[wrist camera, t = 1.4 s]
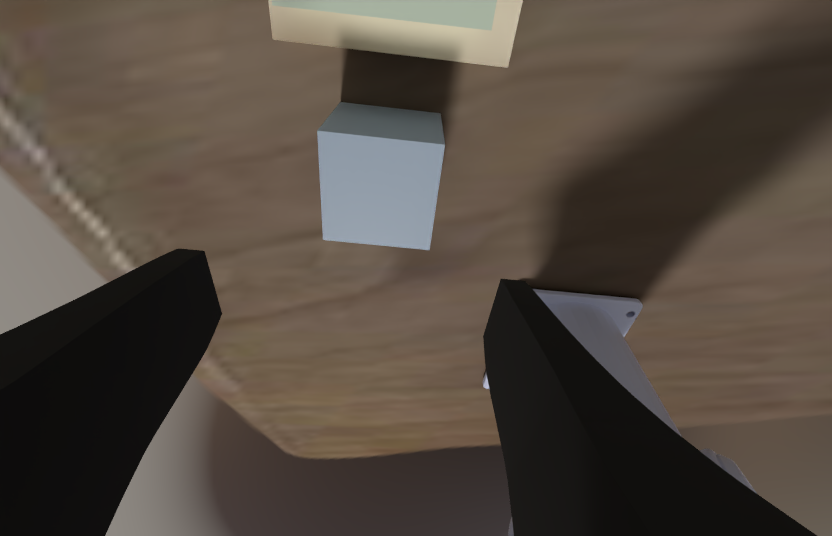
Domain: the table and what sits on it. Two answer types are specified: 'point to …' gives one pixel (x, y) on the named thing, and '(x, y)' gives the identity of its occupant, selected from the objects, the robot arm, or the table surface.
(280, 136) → the table surface
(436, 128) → the blue cube
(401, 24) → the birch slab
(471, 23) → the green block
